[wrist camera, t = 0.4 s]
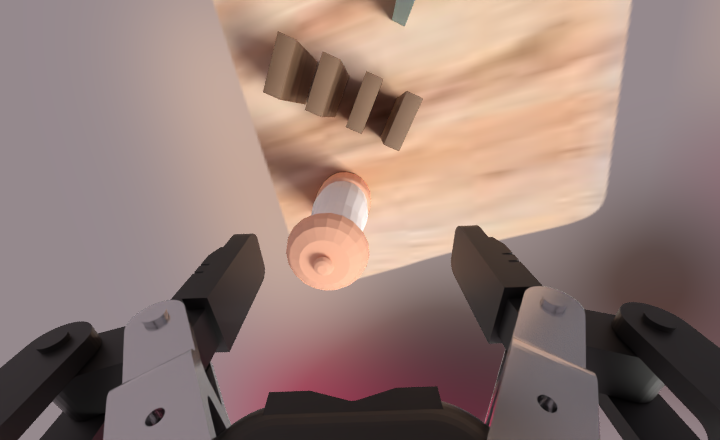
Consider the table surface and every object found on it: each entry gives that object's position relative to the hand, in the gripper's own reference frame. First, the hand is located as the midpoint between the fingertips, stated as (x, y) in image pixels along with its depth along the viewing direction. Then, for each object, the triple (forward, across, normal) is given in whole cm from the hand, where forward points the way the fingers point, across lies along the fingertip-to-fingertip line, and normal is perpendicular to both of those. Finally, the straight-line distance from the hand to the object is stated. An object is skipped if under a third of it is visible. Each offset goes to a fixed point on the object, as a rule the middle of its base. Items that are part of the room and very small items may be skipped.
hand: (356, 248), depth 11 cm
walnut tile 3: (+27, -1, -3) cm, 27 cm away
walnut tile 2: (+27, -5, -2) cm, 27 cm away
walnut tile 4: (+27, +2, -5) cm, 28 cm away
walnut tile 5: (+28, +6, -6) cm, 29 cm away
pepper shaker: (+26, +2, +8) cm, 28 cm away
